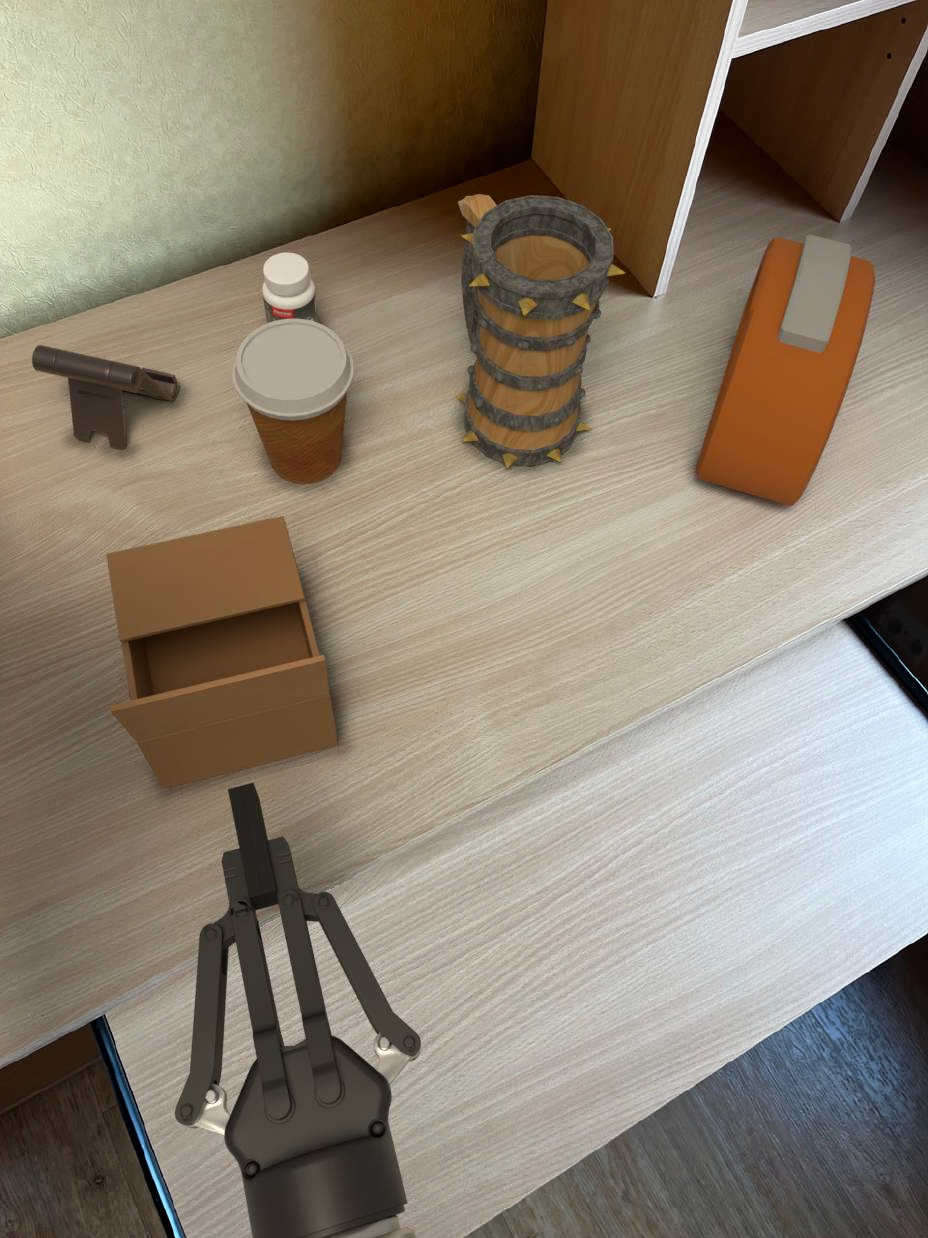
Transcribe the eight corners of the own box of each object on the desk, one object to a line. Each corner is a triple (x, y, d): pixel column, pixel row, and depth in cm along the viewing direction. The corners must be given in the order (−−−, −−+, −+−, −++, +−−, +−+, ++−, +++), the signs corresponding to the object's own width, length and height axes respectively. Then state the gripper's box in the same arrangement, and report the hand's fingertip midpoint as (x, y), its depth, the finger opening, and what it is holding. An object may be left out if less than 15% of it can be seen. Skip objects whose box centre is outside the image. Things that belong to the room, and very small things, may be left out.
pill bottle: (275, 360, 98) (263, 291, 91) (265, 324, 100) (253, 254, 93) (325, 351, 99) (317, 281, 92) (314, 315, 101) (306, 245, 94)
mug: (498, 499, 91) (517, 328, 74) (400, 369, 98) (396, 185, 81) (620, 441, 95) (665, 265, 78) (516, 320, 102) (536, 134, 85)
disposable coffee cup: (292, 517, 89) (275, 424, 79) (229, 447, 93) (205, 349, 82) (382, 463, 93) (377, 366, 82) (318, 397, 96) (306, 296, 86)
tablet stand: (182, 390, 96) (162, 322, 89) (148, 456, 92) (125, 390, 85) (91, 370, 97) (64, 300, 90) (53, 434, 93) (22, 367, 86)
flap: (323, 654, 65) (325, 660, 64) (328, 688, 71) (329, 694, 71) (109, 705, 62) (110, 711, 62) (134, 736, 69) (135, 741, 69)
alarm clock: (741, 315, 103) (793, 167, 89) (832, 340, 102) (900, 193, 88) (686, 497, 92) (735, 360, 78) (787, 527, 91) (857, 394, 76)
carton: (296, 581, 86) (283, 514, 78) (338, 745, 79) (329, 690, 71) (135, 617, 84) (105, 552, 76) (163, 789, 77) (133, 738, 69)
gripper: (213, 1283, 53) (145, 843, 64) (462, 1199, 55) (355, 788, 66) (185, 1292, 47) (115, 800, 58) (468, 1196, 49) (349, 741, 60)
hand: (244, 794), depth 62 cm, fingers closed
